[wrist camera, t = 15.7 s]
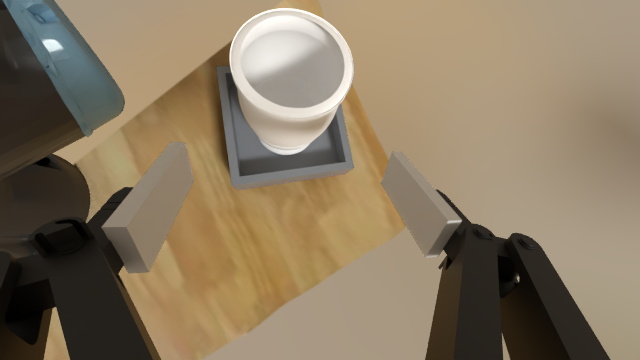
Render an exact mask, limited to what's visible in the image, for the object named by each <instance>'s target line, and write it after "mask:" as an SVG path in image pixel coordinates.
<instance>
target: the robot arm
mask: <svg viewBox="0 0 640 360" xmlns="http://www.w3.org/2000/svg"><path fill="white" fill-rule="evenodd" d="M124 104H125V100H124V96H123V94H122V91H121V90H120V88H119V87H118V85H117V84H116V82H115V80H114V79H113V78H112V76H111V75H110V73H109V72H108V71H107V69H106V68H105V66H104V65H103V64H102V62H101V61H100V60H99V58H98V57H97V55H96V54H95V53H94V52H93V50H92V49H91V47H90V46H89V45H88V44H87V42H86V41H85V40H84V38H83V37H82V36H81V35H80V33H79V32H78V31H77V29H76V28H75V27H74V25H73V24H72V23H71V22H70V20H69V19H68V18H67V16H66V15H65V14H64V12H63V11H62V10H61V9H60V7H59V6H58V5H57V3H56V2H55V1H54V0H0V360H43V359H44V353H45V348H46V342H47V337H48V331H49V325H50V320H51V314H52V309H53V308H54V307H56V308H57V311H58V315H59V319H60V323H61V326H62V330H63V334H64V338H65V341H66V345H67V349H68V353H69V356H70V360H161V358H160V356H159V354H158V352H157V350H156V348H155V346H154V344H153V342H152V340H151V338H150V336H149V334H148V332H147V330H146V328H145V326H144V324H143V322H142V320H141V318H140V316H139V314H138V312H137V310H136V308H135V306H134V304H133V302H132V300H131V298H130V296H129V294H128V292H127V290H126V288H125V286H124V284H123V282H122V280H121V278H120V276H119V274H118V273H119V272H120V270H121V268H122V267H123V265H124V266H125V268H126V270H127V272H128V273H143V272H149V271H150V269H151V267H152V265H153V263H154V261H155V259H156V257H157V255H158V253H159V251H160V249H161V247H162V245H163V243H164V241H165V239H166V237H167V235H168V233H169V231H170V229H171V227H172V225H173V223H174V221H175V219H176V216H177V214H178V212H179V210H180V208H181V206H182V204H183V202H184V200H185V198H186V196H187V194H188V192H189V190H190V188H191V186H192V184H193V182H194V178H193V174H192V170H191V165H190V161H189V156H188V152H187V147H186V143H182V142H171V143H170V144H169V145H168V146H167V148H166V149H165V150H164V151H163V152H162V154H161V155H160V156H159V157H158V159H157V160H156V161H155V162H154V163H153V165H152V166H151V167H150V168H149V170H148V171H147V172H146V173H145V174H144V176H143V177H142V178H141V179H140V181H139V182H138V183H137V184H136V186H135V187H124V188H123V189H121V190H119V191H118V192H116V193H114V194H113V195H112V196H111V197H110V198H109V200H108V201H107V202H106V204H104V205H103V206H102V207H101V208H100V210H99V211H98V212H97V213H96V214H95V215H94V216H93V217H92V219H91V220H90V221H89V222H88V223H87V224H86V219H87V216H88V212H89V206H90V197H89V190H88V187H87V184H86V182H85V180H84V178H83V176H82V175H81V173H80V172H79V171H78V170H77V169H76V168H75V167H74V166H73V165H72V164H71V163H69V162H68V161H66V160H65V159H63V158H61V157H59V156H57V155H54V154H52V153H54V152H56V151H58V150H59V149H61V148H64V147H65V146H67V145H69V144H71V143H73V142H75V141H76V140H79V139H81V138H83V137H84V136H87V137H89V136H90V135H91V134H92V133H93V130H95V129H97V128H98V127H100V126H102V125H103V124H105V123H107V122H108V121H110V120H111V119H114V118H115V117H117V116H118V115H119V114H120V113H121V112H122V111H123V108H124ZM381 184H382V186H383V188H384V189H385V191H386V193H387V194H388V196H389V198H390V199H391V201H392V203H393V204H394V206H395V208H396V209H397V211H398V213H399V214H400V216H401V218H402V219H403V221H404V223H405V224H406V226H407V228H408V229H409V231H410V233H411V234H412V236H413V238H414V239H415V241H416V243H417V244H418V246H419V247H420V249H421V251H422V252H423V254H424V256H425V257H438V256H439V255H440V253H441V252H442V250H444V251H445V253H446V254H447V256H446V257H445V259H444V260H443V262H442V263H441V264H440V266H439V269H441V268H442V267H443V269H442V274H441V279H440V284H439V290H438V295H437V300H436V306H435V311H434V316H433V321H432V327H431V332H430V337H429V342H428V348H427V354H426V358H425V360H503V350H502V334H503V337H504V340H505V343H506V346H507V350H508V353H509V356H510V360H610V358H609V357H608V355H607V353H606V352H605V350H604V349H603V347H602V345H601V344H600V342H599V340H598V339H597V337H596V336H595V334H594V332H593V331H592V329H591V327H590V326H589V324H588V322H587V321H586V319H585V317H584V316H583V314H582V313H581V311H580V309H579V308H578V306H577V304H576V303H575V301H574V300H573V298H572V296H571V295H570V293H569V291H568V290H567V288H566V287H565V285H564V283H563V282H562V280H561V278H560V277H559V275H558V273H557V272H556V270H555V269H554V267H553V265H552V264H551V262H550V260H549V259H548V257H547V256H546V254H545V252H544V251H543V249H542V248H541V246H540V245H539V244H538V243H537V242H536V241H534V240H533V239H532V238H530V237H528V236H526V235H523V234H519V233H513V234H512V235H511V236H510V237H509V238H508V239H504V238H499V237H495V236H494V234H493V233H492V232H491V231H490V230H488V229H487V228H485V227H483V226H481V225H478V224H472V223H471V222H470V221H469V220H468V219H467V218H466V217H465V216H464V215H463V214H462V212H461V211H460V210H459V209H458V208H457V207H455V205H454V204H453V203H452V202H451V200H450V199H449V198H448V197H447V196H446V195H445V194H443V193H442V192H440V191H439V190H435V189H434V188H433V187H432V185H431V184H430V183H429V182H428V181H427V180H426V179H425V177H424V176H423V175H422V174H421V173H420V172H419V171H418V170H417V169H416V167H415V166H414V165H413V164H412V163H411V162H410V161H409V159H408V158H407V157H406V156H405V155H404V154H403V153H402V152H392V153H391V156H390V159H389V162H388V165H387V168H386V170H385V173H384V176H383V179H382V182H381ZM518 276H519V277H520V279H519V282H518V280H517V277H518ZM501 330H502V331H501Z"/></svg>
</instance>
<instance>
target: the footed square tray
mask: <svg viewBox="0 0 640 360" xmlns="http://www.w3.org/2000/svg"><path fill="white" fill-rule="evenodd" d="M216 69H217V77H218V84H219V92H220V99H221V107H222V115H223V122H224V130H225V137H226V145H227V153H228V160H229V168H230V175H231V183H232V186H233V187H234V188H235V189H237V190H243V189H249V188H256V187H263V186H269V185H276V184H283V183H289V182H296V181H302V180H309V179H316V178H322V177H329V176H335V175H342V174H345V173H347V172H349V171H350V170H352V169H353V168H354V165H353V160H352V155H351V150H350V145H349V140H348V135H347V131H346V126H345V121H344V116H343V111H342V106H341V103H340V104H339V105H338V108H337V111H336V113H335V115H334V117H333V119H332V121H331V123H330V124H329V126H328V127H327V128H326V129H325V131H324V132H323V133H322V134H321V135H320V136H318V137H317V138H316V139H315V140H314V141H312V142H311V143H310V144H309V145H308V146H307V147H306V148H305V149H304V150H302V151H301V152H299V153H296V154H292V155H281V154H277V153H274V152H272V151H270V150H268V149H267V148H266V147H265V146H264V145H263V144H262V143H261V142H260V140H259V138H258V136H257V135H256V133H255V132H254V131H253V129H252V128H251V127H250V125H249V124H248V122H247V121H246V119H245V117H244V115H243V112H242V109H241V106H240V103H239V98H238V90H237V87H236V85H235V83H234V80H233V77H232V74H231V69H230V66H216Z"/></svg>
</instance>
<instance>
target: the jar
mask: <svg viewBox="0 0 640 360" xmlns="http://www.w3.org/2000/svg"><path fill="white" fill-rule="evenodd" d="M230 69H231V74H232V77H233V80H234V83H235V85H236V87H237V90H238V98H239V103H240V106H241V109H242V112H243V115H244V117H245V119H246V121H247V122H248V124H249V125H250V127H251V128H252V129H253V131H254V132H255V133H256V135H257V136H258V138H259V140H260V142H261V143H262V144H263V145H264V146H265V147H266V148H267V149H268V150H270V151H272V152H274V153H277V154H281V155H292V154H296V153H299V152H301V151H302V150H304V149H305V148H306V147H307V146H308V145H309V144H310V143H311V142H312V141H314V140H315V139H316V138H317V137H318V136H320V135H321V134H322V133H323V132H324V131H325V129H326V128H327V127H328V126H329V124H330V123H331V121H332V119H333V117H334V115H335V113H336V111H337V108H338V105H339V104H340V103H341V102H342V101H343V99H344V98H345V96H346V95H347V93H348V91H349V89H350V87H351V84H352V81H353V75H354V64H353V58H352V55H351V51H350V49H349V47H348V45H347V43H346V41H345V40H344V38H343V37H342V35H341V34H340V33H339V32H338V31H337V30H336V29H335V28H334V27H333V26H332V25H331V24H330V23H328V22H327V21H325V20H324V19H322V18H320V17H319V16H316V15H314V14H312V13H309V12H306V11H303V10H298V9H290V8H280V9H273V10H268V11H265V12H262V13H260V14H258V15H256V16H254V17H252V18H251V19H249V20H248V21H247V22H246V23H244V24H243V25H242V26H241V28H240V29H239V30H238V32H237V33H236V35H235V37H234V39H233V41H232V44H231V48H230Z"/></svg>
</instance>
